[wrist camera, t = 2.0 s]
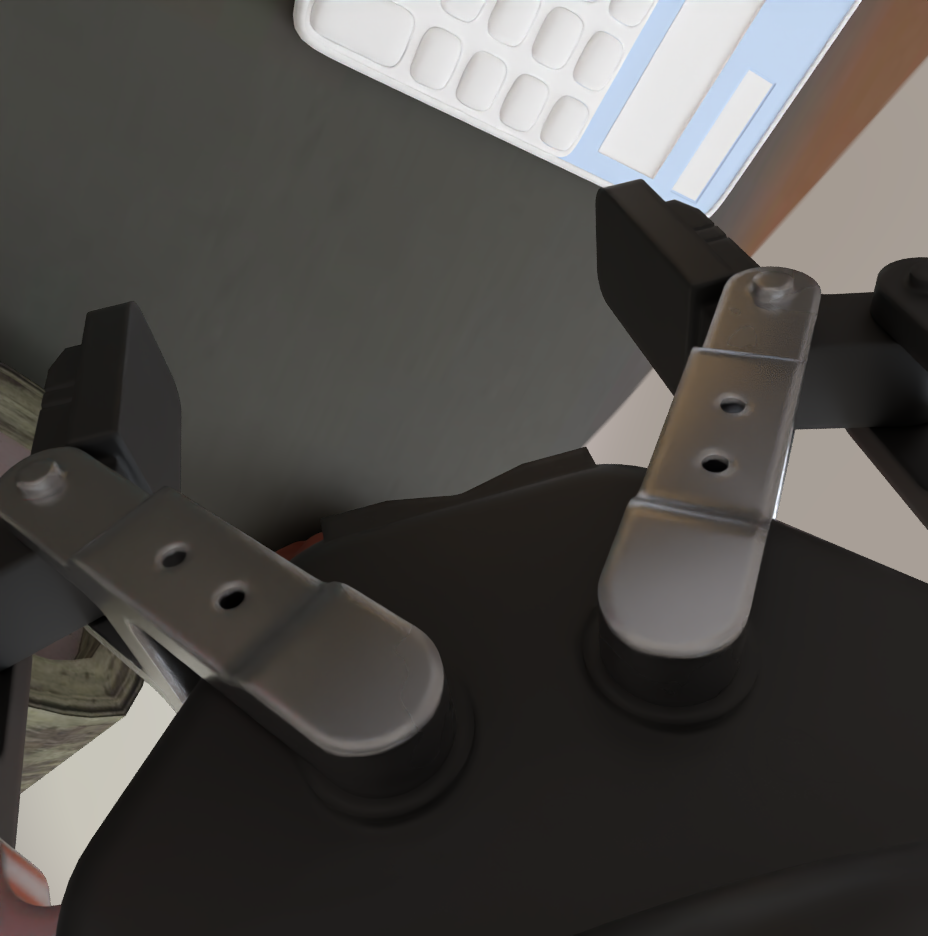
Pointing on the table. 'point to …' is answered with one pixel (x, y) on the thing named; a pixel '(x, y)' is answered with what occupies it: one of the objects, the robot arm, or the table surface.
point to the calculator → (596, 76)
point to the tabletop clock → (74, 656)
